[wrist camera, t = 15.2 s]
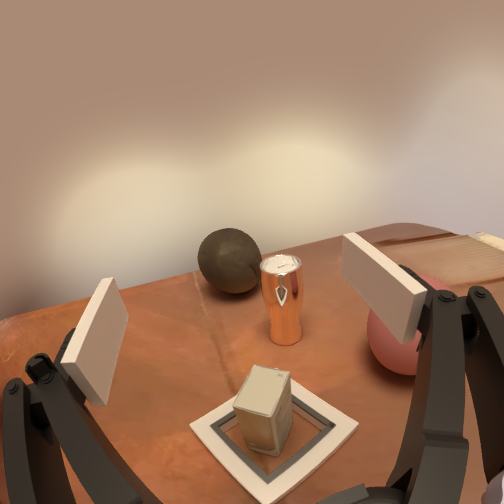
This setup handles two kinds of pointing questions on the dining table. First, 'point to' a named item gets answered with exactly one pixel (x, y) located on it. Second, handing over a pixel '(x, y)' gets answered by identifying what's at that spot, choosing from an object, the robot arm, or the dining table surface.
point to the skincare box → (265, 409)
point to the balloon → (389, 347)
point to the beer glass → (283, 296)
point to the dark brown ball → (230, 260)
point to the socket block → (295, 468)
